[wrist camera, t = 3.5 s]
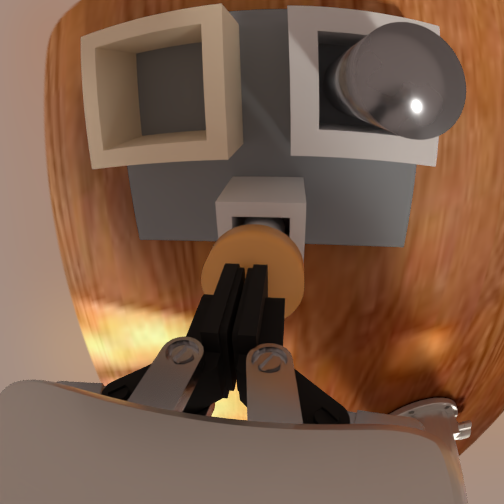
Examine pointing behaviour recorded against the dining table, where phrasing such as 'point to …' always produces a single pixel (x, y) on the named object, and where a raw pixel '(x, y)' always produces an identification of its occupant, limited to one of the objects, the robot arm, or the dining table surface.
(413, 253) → the dining table surface
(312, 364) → the dining table surface
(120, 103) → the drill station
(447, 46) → the grey rounded cylinder
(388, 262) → the dining table surface
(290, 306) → the button
